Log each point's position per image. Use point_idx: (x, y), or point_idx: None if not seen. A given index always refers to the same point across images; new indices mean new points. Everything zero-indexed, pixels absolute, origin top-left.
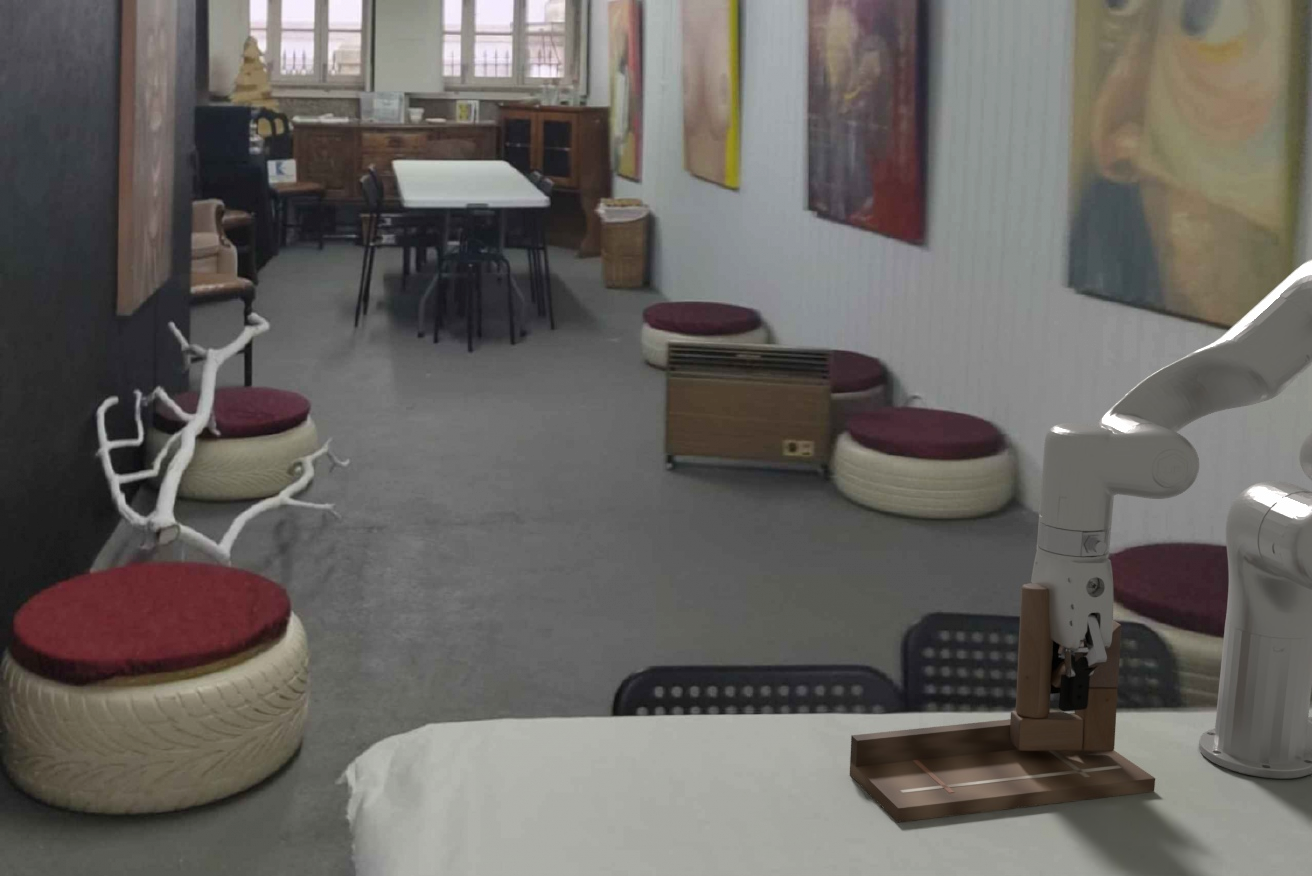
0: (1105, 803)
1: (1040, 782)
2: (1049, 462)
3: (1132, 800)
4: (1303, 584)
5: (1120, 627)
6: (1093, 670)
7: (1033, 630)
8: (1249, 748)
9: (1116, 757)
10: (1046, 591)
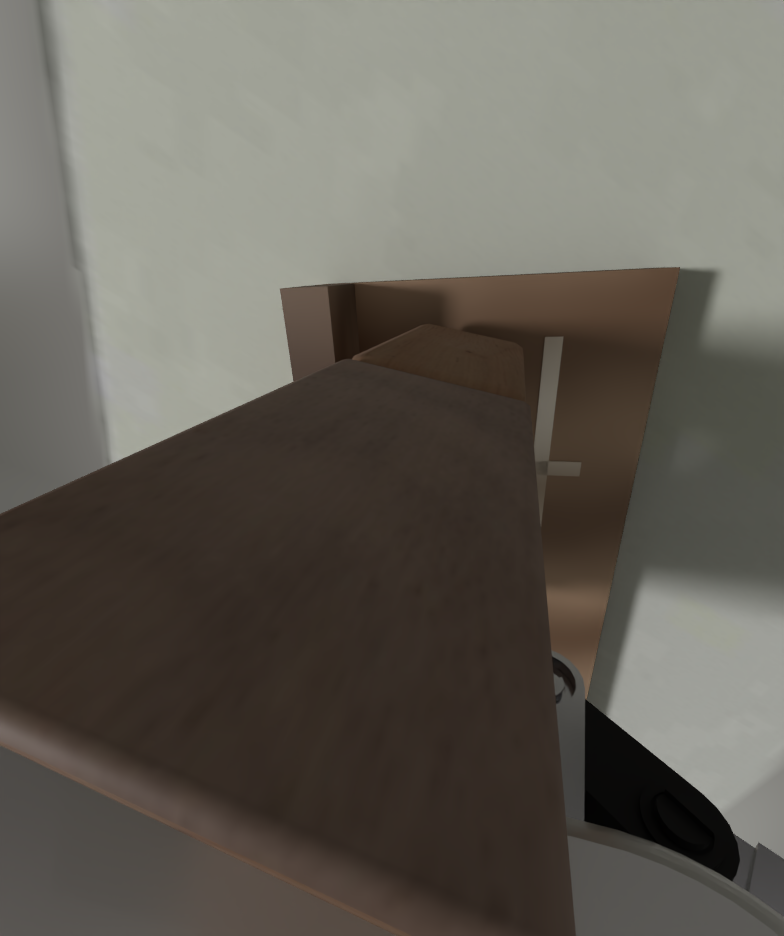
0: (657, 450)
1: (560, 582)
2: None
3: (678, 370)
4: None
5: (573, 910)
6: (583, 691)
7: None
8: None
9: (487, 306)
10: None
